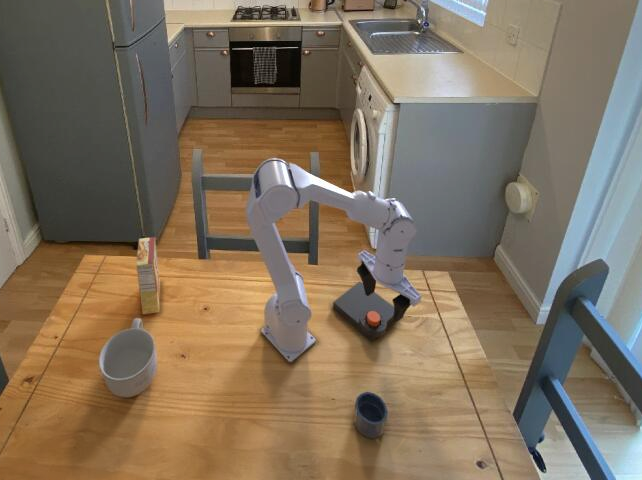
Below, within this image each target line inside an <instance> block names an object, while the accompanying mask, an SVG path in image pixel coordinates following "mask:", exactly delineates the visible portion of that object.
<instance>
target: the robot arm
mask: <svg viewBox="0 0 642 480" xmlns="http://www.w3.org/2000/svg"><path fill="white" fill-rule="evenodd" d="M311 201H313V202H316V203H319V204H322V205H325V206H329V207H331V208H335V209H337V210H342V211H344V212H345V214H346V216H347V218H348V219H349V220H351V221H353V222H357V223H359V224H362V225H364V226H367V227H370V228H372V229H375V230H377V241H376V246H375V247H376V248H375V255H373V254H371V253H369V252H367V251H366V250H362V251H361V252H359V253H358V255H357V261H358V262H359V264H360V265H359V266H357V268H356V272H357V274H358V275H359V278H360V279H361V282H362V283H363V286H364V290H365V294H366V295H367V296H369V295H371V294H372V293H374V292H375V290H376V286H377V284H379V285H380V286H382V287H385V288H387V289H389V290H391V291H393V292H394V293H397V294H398V295H397V296H395V297H394V298H392V303H393V306H394V321H395V322H396V323H398V322H399V321H400V320H402V319H403V318H404V315H405V313H406V312H407V310H408V309H409V308H410V306H412V307H416V306H417V305H419V304H420V303H421V301H422V294H421V293H420V292H418V290H417V289H416V288H415V287H414V286H413V284H412V283H411V281H410V280H409V278H407V276H406V274H404V272H405V265H406V259H407V253H408V247H409V243H410V241H411V240H412V239H413V238H414V237H415V236H416V234H417V232H418V229H417V228H416V223H415V221H414V219H413V218H412V216H411V215H410V213H409V211H408V210H407V209H406V207H405V206H404V205H403V203H402V202H401V201H400V200H398V199H397V198H393V197H392V198H391V197H389V198H386V199H383V198H380V197H377V196H376V194H375V193H374V192H372V191H369V190H368V191H367V192H366V191H363V190H359V189H358V190H355V191H353V192H349V191H347V190H345V189H343V188H341V187H339V186H337V185H334V184H332V183H330V182H328V181H326V180H324V179H322V178H320V177H318V176H315V175H313V174H311V173H309V172H307V171H306V170H304V169H303V168H302V167H300V166H299V165H297V164H295V163H292V162H288V163H287V162H286V161H285V160H283V159H281V158H276V157H273V158H272V157H271V158H268V159H265V160H264V161H262V162H261V163H260V164H259V166H258V167H257V168H256V170H254V172H253V174H252V181H251V187H250V190H249V194H248V198H247V202H246V205H245V209H244V210H245V219H246V223H247V226H248V229H249V231H250V233H251V236H252V237H253V240H254V242H255V245H256V247H257V249H258V251H259V253H260V256H261V258H262V261H263V263H264V265H265V267H266V270H267V272H268V274H269V276H270V279H271V282H272V283H273V286H274V289H275V293H274V294H273V295H271V296H270V297H269V298H268V300H267V301H266V303H265V306H264V314H263V315H264V317H263V318H264V319H263V320H264V321H263V322H264V323H263V327H262V328H261V330H260V331H261V334H262V335H263V336H264V337H265V338H266V339H267V340H268V341H269V342H270V343H271V345H273V346H274V348H275V349H276V350H277V351H278V352H279V353H280V354H281V355H282V356H283V358H285V360H287V362H289V363H292V362H293V361H295V360H296V359H298V357H300V356H301V355H302V354H303V353H304V352H305V351H307V350H308V349H309V348H310V347H311V346H312V345H313V344H315V343H316V342H317V341H316V338H315V337H314V336H313V335H312V333H310V332H309V331H308V330H309V321H310V320H311V318H312V310H311V308H310V305H309V299H308V296H307V292H306V288H305V284H304V282H305V281H304V277H303V275H302V274H301V273H300V272H299V271H297V270H296V268H295V266H294V265H293V264H292V263H291V260H290V258H289V255H288V252H287V250H286V248H285V246H284V243H283V240H282V238H281V235H280V233H279V231H278V228H277V226H276V222H277V221H279V220H280V219H283V217H284V216H286V215H288V214H289V213H291V211H293V210H294V209H295V208H296V209H297V210H301V209H302V208H303V207H305V206H306V205H307V204H308V203H309V202H311Z"/></svg>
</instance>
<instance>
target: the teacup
mask: <svg viewBox="0 0 642 480" xmlns="http://www.w3.org/2000/svg"><path fill="white" fill-rule="evenodd" d="M98 368H99V370H100V372H101V374H102V378H103V381H104V382H105V385H106V387H107V389H108V390H109V391H110V392H111V393H112V394H113V395H114V396H116V397H120V398H130V397H131V398H132V397H134V396H137V395H140V394H141V393H142V392H144V391H145V390H146V389H147V388H148V387H150V385H151V384H152V382H153V380H154V378H155V377H156V373H157V370H158V355H157V350H156V342H155V339H154V337H153V335H152V334H151V333H150V332H149V331H148V330H145V329H143V320H142V319H141V318H140V317H139V318H137V317H136V318H134V319H133V320H132V323H131V328H126V329H123V330H121V331H118V332H117V333H115V334H113V335H112V336H111V337H110V338H109V339H108V340H107V341H106V342H105V344H104V345H103V346H102V348H101V350H100V353H99V356H98Z"/></svg>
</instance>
